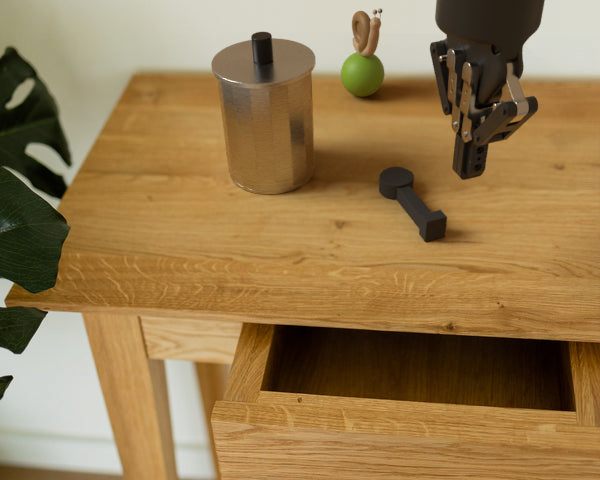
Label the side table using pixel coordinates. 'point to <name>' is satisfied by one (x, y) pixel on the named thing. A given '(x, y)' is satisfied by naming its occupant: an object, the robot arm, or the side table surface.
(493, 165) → the side table surface
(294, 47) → the pot lid
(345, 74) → the snail figurine
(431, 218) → the black disc-ended bar
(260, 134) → the pot
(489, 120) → the robot arm
